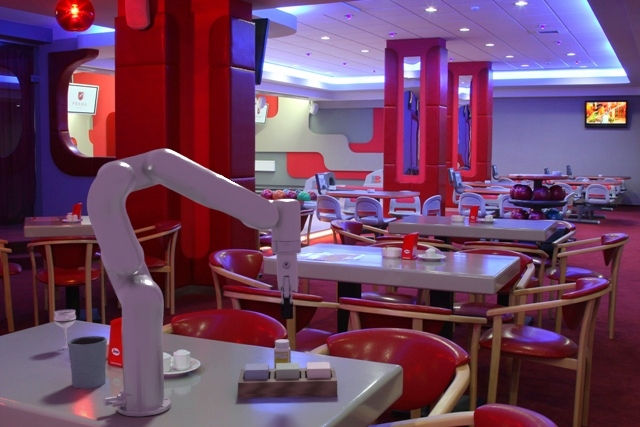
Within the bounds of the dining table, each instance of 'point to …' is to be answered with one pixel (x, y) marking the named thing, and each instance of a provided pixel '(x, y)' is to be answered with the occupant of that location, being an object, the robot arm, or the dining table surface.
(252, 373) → the slate key
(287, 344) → the supplement bottle
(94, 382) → the grey blue cup
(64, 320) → the wineglass
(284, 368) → the sage key
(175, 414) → the dining table surface
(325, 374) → the cream key
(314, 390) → the console
